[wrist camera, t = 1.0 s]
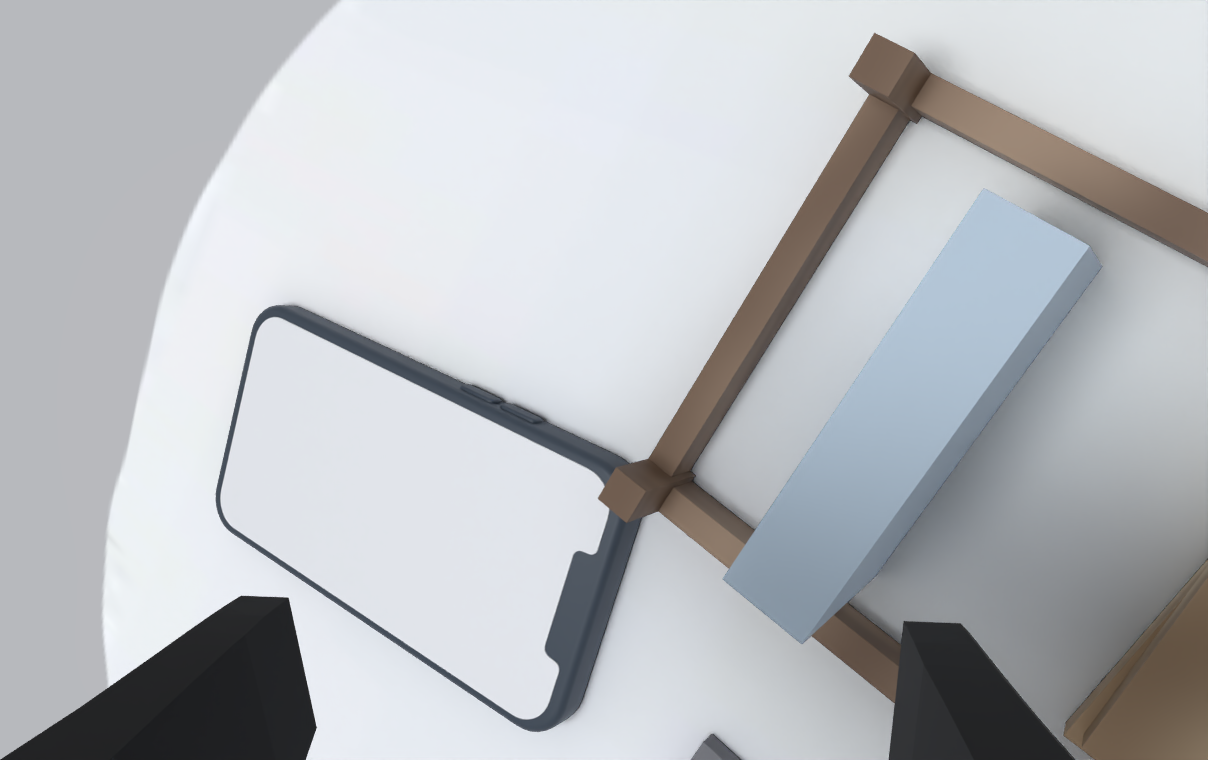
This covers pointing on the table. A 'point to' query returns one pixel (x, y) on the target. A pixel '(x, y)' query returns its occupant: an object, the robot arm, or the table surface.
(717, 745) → the mat
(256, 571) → the table surface
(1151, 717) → the offcut stack
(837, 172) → the frame
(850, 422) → the panel
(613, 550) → the phone case
